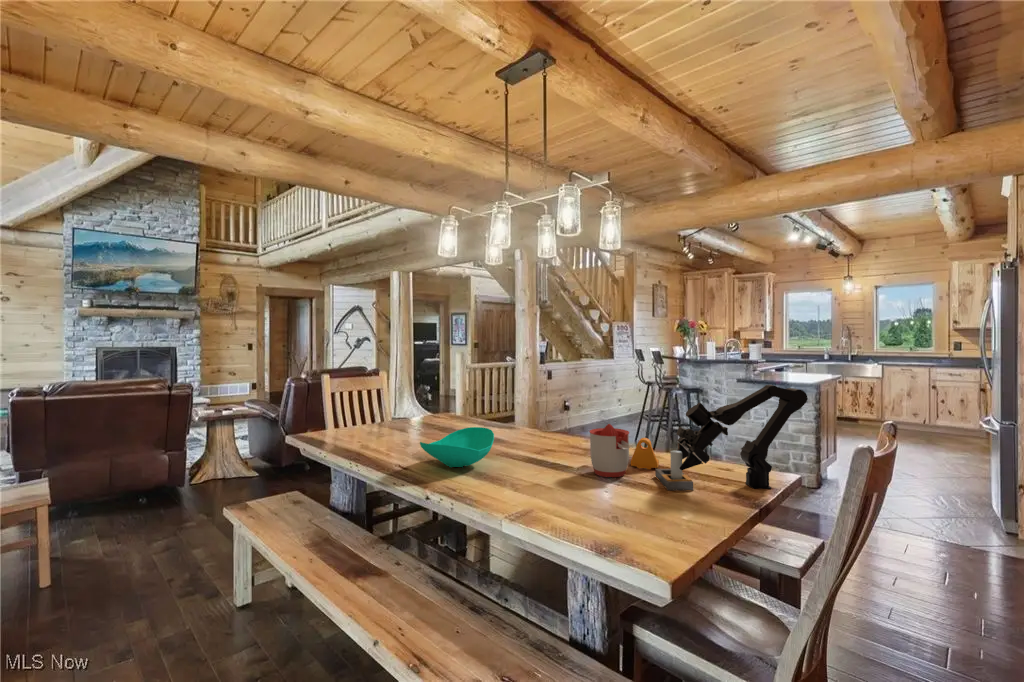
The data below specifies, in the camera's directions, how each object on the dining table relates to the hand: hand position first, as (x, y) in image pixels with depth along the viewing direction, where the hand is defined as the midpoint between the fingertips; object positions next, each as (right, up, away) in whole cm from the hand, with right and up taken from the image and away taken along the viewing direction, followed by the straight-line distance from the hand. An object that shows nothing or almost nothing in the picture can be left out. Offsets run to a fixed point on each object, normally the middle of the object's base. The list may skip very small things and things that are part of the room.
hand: (676, 465), depth 171 cm
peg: (0, -7, 0) cm, 7 cm away
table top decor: (-83, -9, +32) cm, 89 cm away
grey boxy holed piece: (0, -7, +4) cm, 8 cm away
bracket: (-4, -8, +27) cm, 29 cm away
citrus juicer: (-20, -8, +16) cm, 27 cm away
